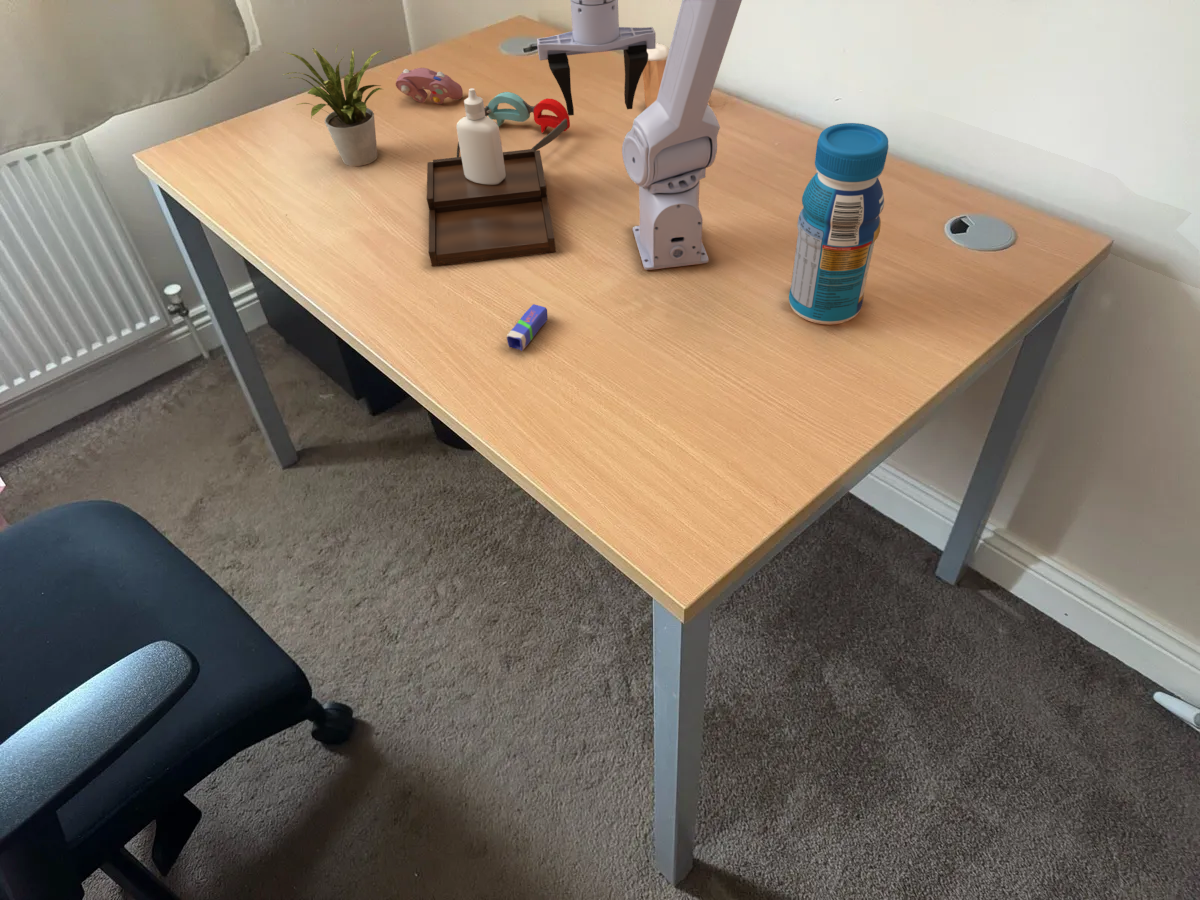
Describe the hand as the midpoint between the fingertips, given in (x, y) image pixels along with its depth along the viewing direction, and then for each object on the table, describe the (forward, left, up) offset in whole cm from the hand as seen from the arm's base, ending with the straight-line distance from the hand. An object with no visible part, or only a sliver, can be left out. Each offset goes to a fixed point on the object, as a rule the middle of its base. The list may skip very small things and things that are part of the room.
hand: (599, 109), depth 111 cm
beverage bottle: (-33, -21, -11) cm, 41 cm away
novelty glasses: (+13, +12, -11) cm, 21 cm away
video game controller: (+32, +24, -11) cm, 41 cm away
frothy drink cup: (+21, -11, -10) cm, 26 cm away
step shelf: (-6, +16, -10) cm, 20 cm away
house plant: (+15, +36, -11) cm, 40 cm away
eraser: (-32, +13, -11) cm, 36 cm away
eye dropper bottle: (-1, +16, -7) cm, 18 cm away
